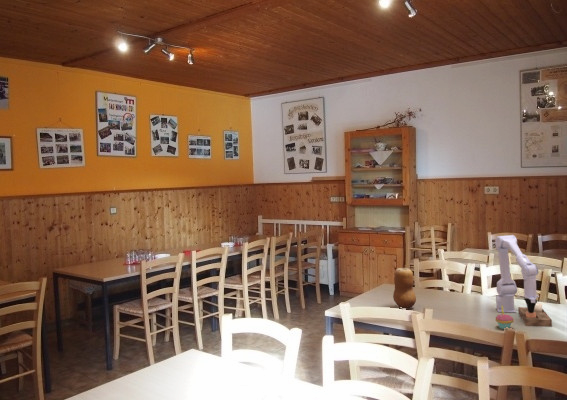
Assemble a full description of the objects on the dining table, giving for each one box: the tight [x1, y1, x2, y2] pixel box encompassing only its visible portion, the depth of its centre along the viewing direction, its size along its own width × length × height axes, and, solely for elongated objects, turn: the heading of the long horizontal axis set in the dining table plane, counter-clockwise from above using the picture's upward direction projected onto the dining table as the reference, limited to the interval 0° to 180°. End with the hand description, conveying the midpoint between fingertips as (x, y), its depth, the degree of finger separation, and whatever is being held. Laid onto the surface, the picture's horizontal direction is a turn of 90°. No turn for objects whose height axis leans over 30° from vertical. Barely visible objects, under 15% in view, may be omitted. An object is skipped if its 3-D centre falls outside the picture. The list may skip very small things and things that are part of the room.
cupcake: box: [495, 306, 514, 330], centre depth 244 cm, size 9×8×12 cm
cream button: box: [534, 302, 543, 312], centre depth 259 cm, size 5×5×5 cm
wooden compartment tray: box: [517, 306, 553, 328], centre depth 255 cm, size 12×22×4 cm, turn 163°
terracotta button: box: [526, 311, 536, 318], centre depth 251 cm, size 5×5×5 cm
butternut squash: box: [392, 267, 417, 309], centre depth 288 cm, size 14×13×25 cm
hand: (530, 312), depth 251 cm, fingers closed, pressing on terracotta button
